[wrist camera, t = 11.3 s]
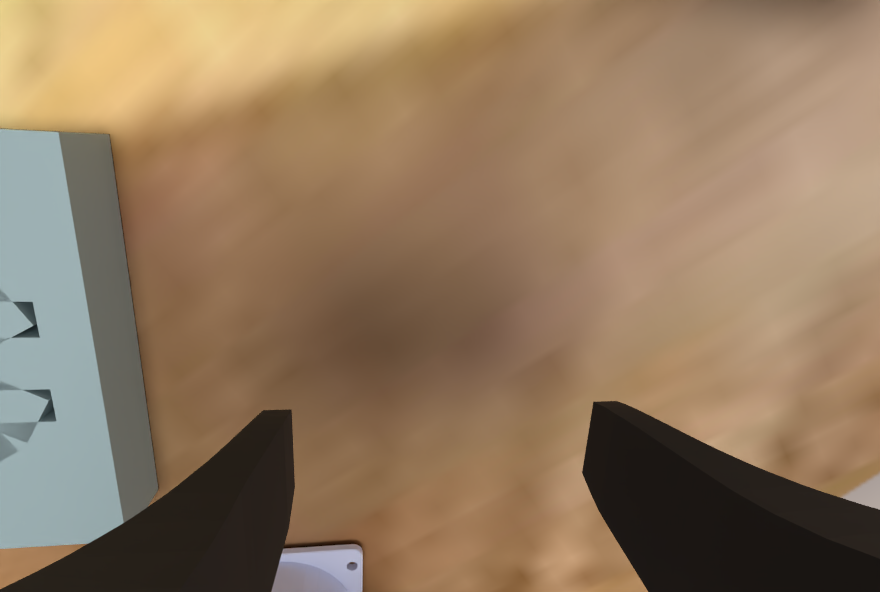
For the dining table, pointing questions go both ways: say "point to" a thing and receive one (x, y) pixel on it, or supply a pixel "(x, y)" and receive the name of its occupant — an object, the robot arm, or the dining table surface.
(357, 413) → the dining table surface
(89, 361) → the socket block
